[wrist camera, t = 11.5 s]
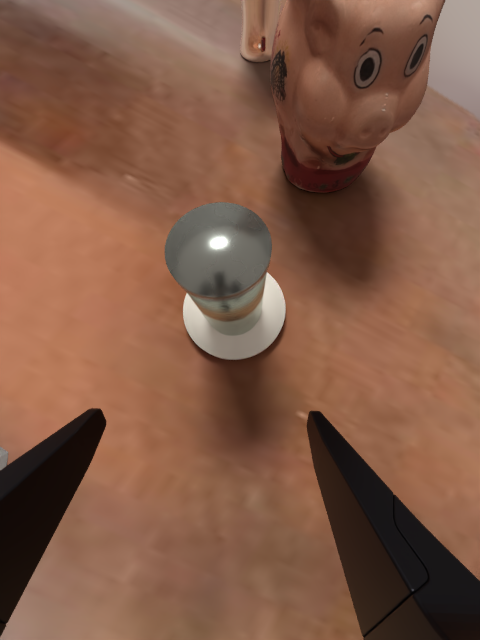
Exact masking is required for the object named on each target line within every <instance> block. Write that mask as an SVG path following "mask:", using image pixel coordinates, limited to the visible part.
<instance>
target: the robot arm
mask: <svg viewBox="0 0 480 640" xmlns="http://www.w3.org/2000/svg"><path fill="white" fill-rule="evenodd" d="M105 427H106V419H105V417H104V415H103V412H102V410H101V409H98V408H92V409H89V410H87V411H86V412H84V413H83V414H81V415H80V416H78V417H77V418H75V419H74V420H73V421H71V422H70V423H68V424H67V425H65V426H64V427H62V428H61V429H60V430H58V431H57V432H55V433H54V434H52V435H51V436H49V437H48V438H47V439H45V440H44V441H42V442H41V443H39V444H38V445H36V446H35V447H33V448H32V449H31V450H29V451H28V452H26V453H25V454H23V455H22V456H20V457H19V458H18V459H16V460H15V461H13V462H12V463H10V464H9V465H7V466H6V467H4V468H3V469H2V470H0V636H1V635H2V633H3V631H4V629H5V627H6V624H7V622H8V621H9V619H10V617H11V615H12V613H13V611H14V609H15V607H16V605H17V603H18V602H19V600H20V598H21V596H22V594H23V592H24V590H25V588H26V586H27V584H28V582H29V580H30V579H31V577H32V575H33V573H34V571H35V569H36V567H37V565H38V563H39V561H40V559H41V557H42V556H43V554H44V552H45V550H46V548H47V546H48V544H49V542H50V540H51V538H52V536H53V534H54V533H55V531H56V529H57V527H58V525H59V523H60V521H61V519H62V517H63V515H64V513H65V511H66V509H67V508H68V506H69V504H70V502H71V500H72V498H73V496H74V494H75V492H76V490H77V488H78V486H79V485H80V483H81V481H82V479H83V477H84V475H85V473H86V471H87V469H88V467H89V465H90V463H91V461H92V459H93V456H94V454H95V451H96V449H97V446H98V444H99V442H100V439H101V437H102V434H103V432H104V430H105ZM307 432H308V437H309V442H310V448H311V453H312V459H313V464H314V469H315V473H316V476H317V480H318V483H319V487H320V490H321V494H322V497H323V501H324V504H325V508H326V511H327V515H328V518H329V521H330V525H331V528H332V532H333V535H334V539H335V542H336V546H337V549H338V553H339V556H340V560H341V563H342V567H343V570H344V573H345V577H346V580H347V584H348V587H349V591H350V594H351V598H352V601H353V605H354V608H355V612H356V615H357V619H358V622H359V625H360V629H361V632H362V636H363V637H364V640H480V581H479V580H478V579H477V578H476V577H475V576H474V575H473V574H472V573H471V572H470V571H469V570H468V569H467V568H466V567H465V566H464V565H463V564H462V563H461V562H460V561H459V560H458V559H457V558H456V557H455V556H454V555H453V554H452V553H451V552H450V551H449V550H448V549H447V548H446V547H444V546H443V545H442V544H441V543H440V542H439V541H438V540H437V539H436V538H435V537H434V535H433V534H432V533H431V532H430V531H429V530H428V529H427V528H426V527H425V526H424V525H423V524H422V523H421V522H420V521H419V520H418V519H417V518H416V517H415V516H414V515H413V514H412V513H411V512H410V511H409V509H408V508H407V507H406V506H405V505H404V504H403V503H402V502H401V501H400V500H399V498H398V497H397V496H396V495H393V492H392V491H391V490H390V489H389V487H388V486H387V485H386V484H385V483H384V482H383V481H382V480H381V479H380V477H379V476H378V475H377V474H376V473H375V472H374V471H373V470H372V469H371V467H370V466H369V465H368V464H367V463H366V462H365V461H364V460H363V459H362V457H361V456H360V455H359V454H358V453H357V452H356V451H355V450H354V449H353V448H352V446H351V445H350V444H349V443H348V442H347V441H346V440H345V439H344V438H343V436H342V435H341V434H340V433H339V432H338V431H337V430H336V429H335V428H334V426H333V425H332V424H331V423H330V422H329V421H328V420H327V419H326V418H325V416H324V415H323V414H322V413H321V412H320V411H310V412H309V415H308V420H307Z"/></svg>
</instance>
